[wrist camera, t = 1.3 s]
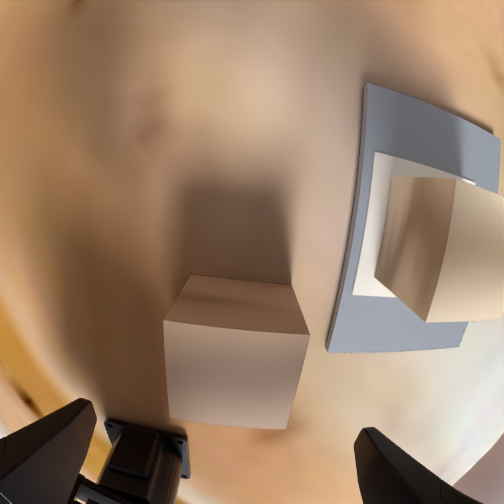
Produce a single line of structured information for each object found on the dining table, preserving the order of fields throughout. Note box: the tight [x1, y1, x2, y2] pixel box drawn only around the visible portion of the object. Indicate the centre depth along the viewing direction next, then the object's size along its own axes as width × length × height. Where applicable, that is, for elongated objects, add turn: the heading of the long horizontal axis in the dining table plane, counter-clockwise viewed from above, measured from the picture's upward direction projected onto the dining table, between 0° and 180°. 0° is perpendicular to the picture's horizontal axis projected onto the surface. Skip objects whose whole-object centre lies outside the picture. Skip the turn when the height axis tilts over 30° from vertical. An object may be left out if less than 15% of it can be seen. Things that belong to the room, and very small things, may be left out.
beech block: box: [374, 176, 504, 323], centre depth 10 cm, size 5×5×5 cm
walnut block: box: [163, 275, 310, 429], centre depth 12 cm, size 5×5×5 cm
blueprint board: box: [325, 83, 500, 353], centre depth 13 cm, size 14×10×1 cm
